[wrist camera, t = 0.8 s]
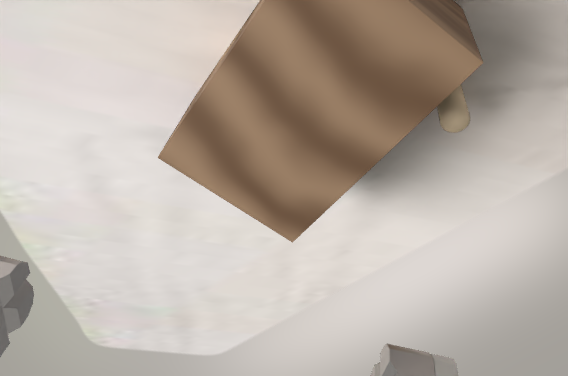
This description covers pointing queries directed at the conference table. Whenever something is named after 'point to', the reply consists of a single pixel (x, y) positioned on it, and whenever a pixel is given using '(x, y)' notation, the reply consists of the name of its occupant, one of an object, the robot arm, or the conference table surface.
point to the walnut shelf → (317, 101)
